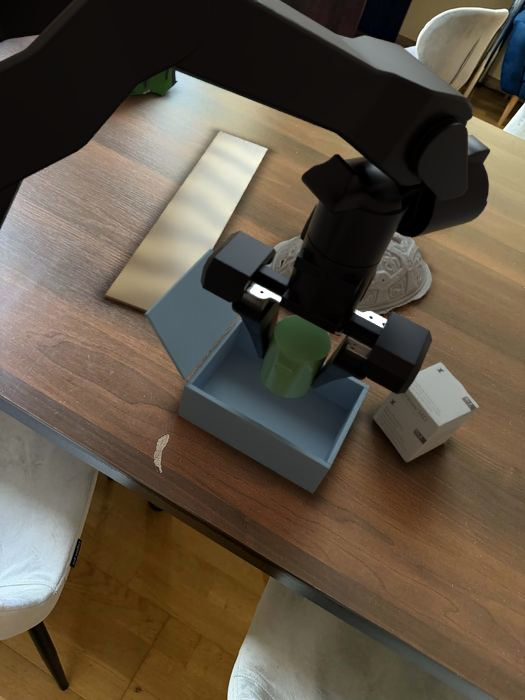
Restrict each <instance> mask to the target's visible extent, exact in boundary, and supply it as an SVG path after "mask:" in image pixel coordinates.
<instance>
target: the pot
mask: <svg viewBox="0 0 525 700" xmlns="http://www.w3.org/2000/svg"><path fill="white" fill-rule="evenodd" d="M332 345H333V344H332V338H331V336H330V333H329V332H327V331H325V330H323V329H321V328H320V327H318V326H316V325H314V324H312V323H310V322H309V321H307V320H305V319H303V318H301V317H299V316H297V315H296V314H294V315H288V316H285V317H283V318H281V319H280V320H278V321H277V323H276V325H275V328H274V330H273V333H272V336H271V338H270V341H269V344H268V346H267V349H266V352H265V354H264V357H263V360H262V362H261V365H260V369H259V373H260V377H261V380H262V382H263V384H264V385H265V386H266V387H267V388H268V389H269V390H270V391H271V392H273V393H274V394H276V395H279V396H281V397H285V398H297V397H301V396H303V395H305V394H306V393H308V392H309V391H310V389H311V388H312V387H311V386H312V384H313V382H314V380H315V378H316V376H317V375H318V373H319V372H320V370H321V368H322V366H323V364H324V362H326V361H327V358H328V356H329V354H330V352H331V351H332V350H331V349H332Z"/></svg>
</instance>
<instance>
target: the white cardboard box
mask: <svg viewBox="0 0 525 700" xmlns="http://www.w3.org/2000/svg"><path fill="white" fill-rule="evenodd" d="M479 409H480V406H479V404H478V403H477V402H476V401H475V400H474V399H473V397H472V396H471V395H470V394H469V392H467V390H466V388H465V387H464V385H463V384H462V383H461V382H460V381H459V380H458V379H457V378H456V377H455V376H454V375H453V374H452V373H451V371H449V369H448V368H447V366H445V365H444V363H443V362H441V361H440V362H437V363H434V364H432V365H430V366H428V367H426V368H423V369H422V370H420V371H419V373H418V375H417V377H416V378H415V380H414V382H413V383H412V384H411V386H410V387H409V388H408V390H407V391H406V393H402V394H395V393H393V392H392V391H390V393H389V394H388V396H387V397H386V399H385V400H384V401H383V403H382V404H381V405H380V406H379V408H378V409H377V410H376V412H375V413H374V415H373V416H372V418H373V420H374V421H375V423H376V424H377V425H378V426H379V428H380V429H381V430H382V432H383V433H384V435H385V436H386V437H387V439H388V440H389V441H390V443H391V444H392V445H393V447H394V448H395V449H396V451H397V452H398V454H399V455H400V457H401V458H402V460H403V461H404V462H405V463H409V462H411V461H413V460H416V458H418V457H420V456H422V455H424V454H427V453H428V452H430V451H432V450H433V449H435V448H437V447H439V446H441V445H443V444H445V443H446V442H447V441H448V440H449V439H450V438H451V437H452V436H453V435H455V433H456V432H457V431H458V430H459V429H460V428H461V427H462V426H463V425H464V424H465V423H466V421H468V420H469V419H470V418H471V417H472V416H473V415H474V414H475V413H476V412H477V411H478V410H479Z"/></svg>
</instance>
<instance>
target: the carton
mask: <svg viewBox="0 0 525 700" xmlns="http://www.w3.org/2000/svg"><path fill="white" fill-rule="evenodd" d="M211 350H212V351H210V352H209V353H208V354H207V356H206V357H205V358H204V359H203V360H202V362H201V363H200V364H199V365H198V367H197V368H196V369H195V370H194V372H193V373H192V374H191V375H190V376H189V378H188V379H187V380H186V382H185V383H184V385H183V389H182V393H181V398H180V403H179V407H178V413H177V415H178V416H180V417H181V418H183V419H184V420H186V421H188V422H190V423H191V424H193V425H195V426H197V428H200V429H201V430H203V431H205V432H207V433H208V434H210V435H211V436H213V437H215V438H217V439H218V440H220V441H222V442H224V443H225V444H227V445H229V446H231V447H232V448H234V449H236V450H238V451H239V452H241V453H242V454H244V455H246V456H248V457H249V458H251V459H253V460H255V462H257V463H259V464H261V465H263V466H265V467H266V468H268V469H270V470H271V471H273V472H274V473H276V474H278V475H280V476H281V477H283V478H285V479H287V480H288V481H290V482H292V483H294V484H295V485H297V486H299V487H301V488H302V489H303V490H305V491H307V492H309V493H310V494H314V493H315V491H316V490H317V489H318V487H319V485H320V484H321V482H322V481H323V480H324V478H325V477H326V475H327V474H328V472H329V471H330V470H331V467H332V465H333V463H334V461H335V459H336V457H337V455H338V453H339V451H340V449H341V447H342V444H343V443H344V441H345V439H346V437H347V435H348V432H349V431H350V428H351V427H352V425H353V423H354V420H355V419H356V416H357V414H358V412H359V410H360V408H361V406H362V405H363V402H364V400H365V398H366V397H367V394H368V391H369V390H370V388H371V386H370V385H368V384H367V383H365V382H363V381H362V380H358V379H356V378H354V377H348V378H343V379H339V380H334V381H332V382H329V383H327V384H325V385H322V386H320V387H318V388H316V389H314V388H311V389H310V391H309V392H308V393H306V394H305V395H303V396H301V397H297V398H285V397H281V396H279V395H276V394H274V393H273V392H271V391H270V390H269V389H268V388H267V387H266V386H265V385H264V384H263V382H262V380H261V377H260V373H259V369H260V365H261V362H262V360H263V359H260V358H259V357H258V355H257V352H256V349H255V347H254V344H253V341H252V338H251V336H250V334H249V332H248V330H247V328H246V326H245V324H244V322H243V321H242V319H241V317H240V316H238V317H237V318H236V320H235V321H234V322H233V323H232V325H231V326H230V327H229V328H228V330H227V331H226V332H225V333H224V335H223V336H222V337H221V338H220V339H219V341H218V342H217V343H216V344H215V346H214V347H213V348H212V349H211ZM326 362H327V361H325V362H324V364H325V363H326ZM324 364H323V365H324ZM322 367H323V366H322Z"/></svg>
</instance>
